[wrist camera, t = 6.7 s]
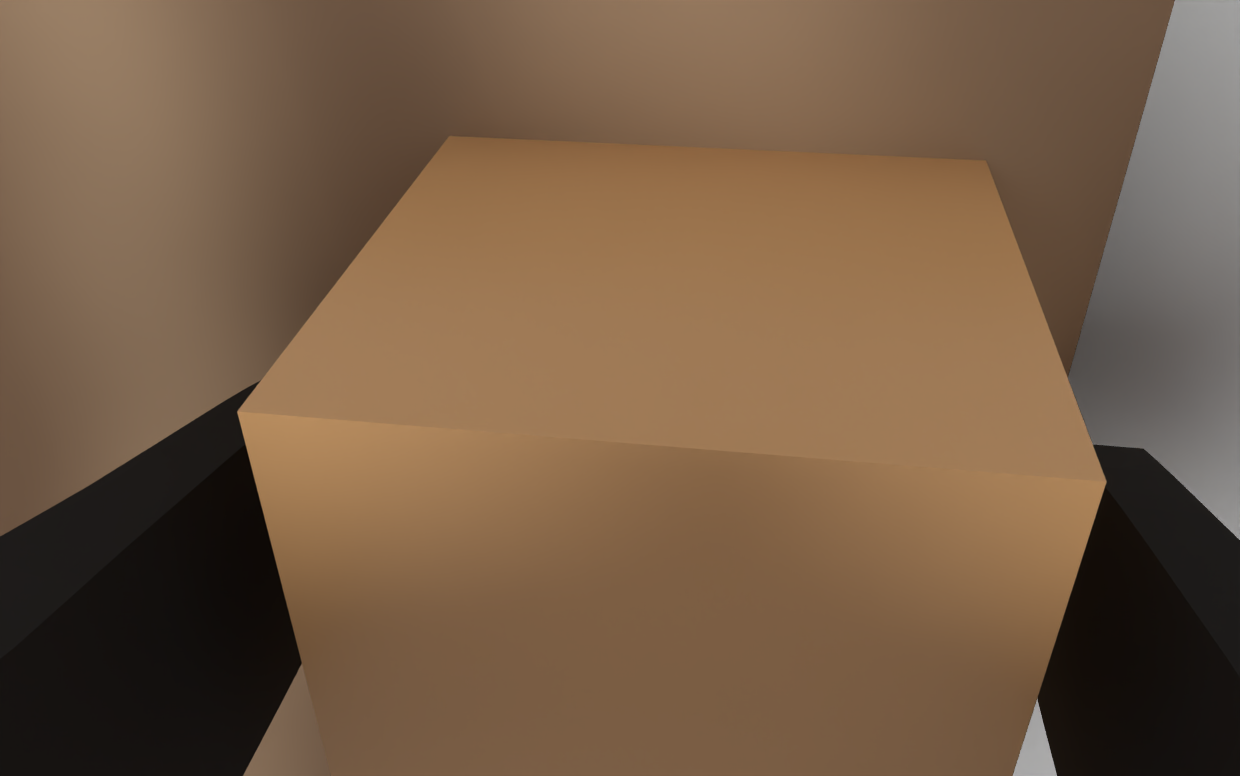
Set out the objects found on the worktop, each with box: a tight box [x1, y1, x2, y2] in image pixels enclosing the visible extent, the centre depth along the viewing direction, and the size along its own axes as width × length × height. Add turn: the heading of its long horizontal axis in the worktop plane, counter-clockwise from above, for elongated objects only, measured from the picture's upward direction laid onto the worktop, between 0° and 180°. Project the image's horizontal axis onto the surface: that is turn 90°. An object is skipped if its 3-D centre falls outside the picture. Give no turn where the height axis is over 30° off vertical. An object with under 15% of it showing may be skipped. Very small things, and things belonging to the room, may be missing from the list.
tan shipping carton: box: [237, 136, 1106, 776], centre depth 10 cm, size 5×5×5 cm
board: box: [0, 0, 1175, 776], centre depth 15 cm, size 16×14×1 cm
